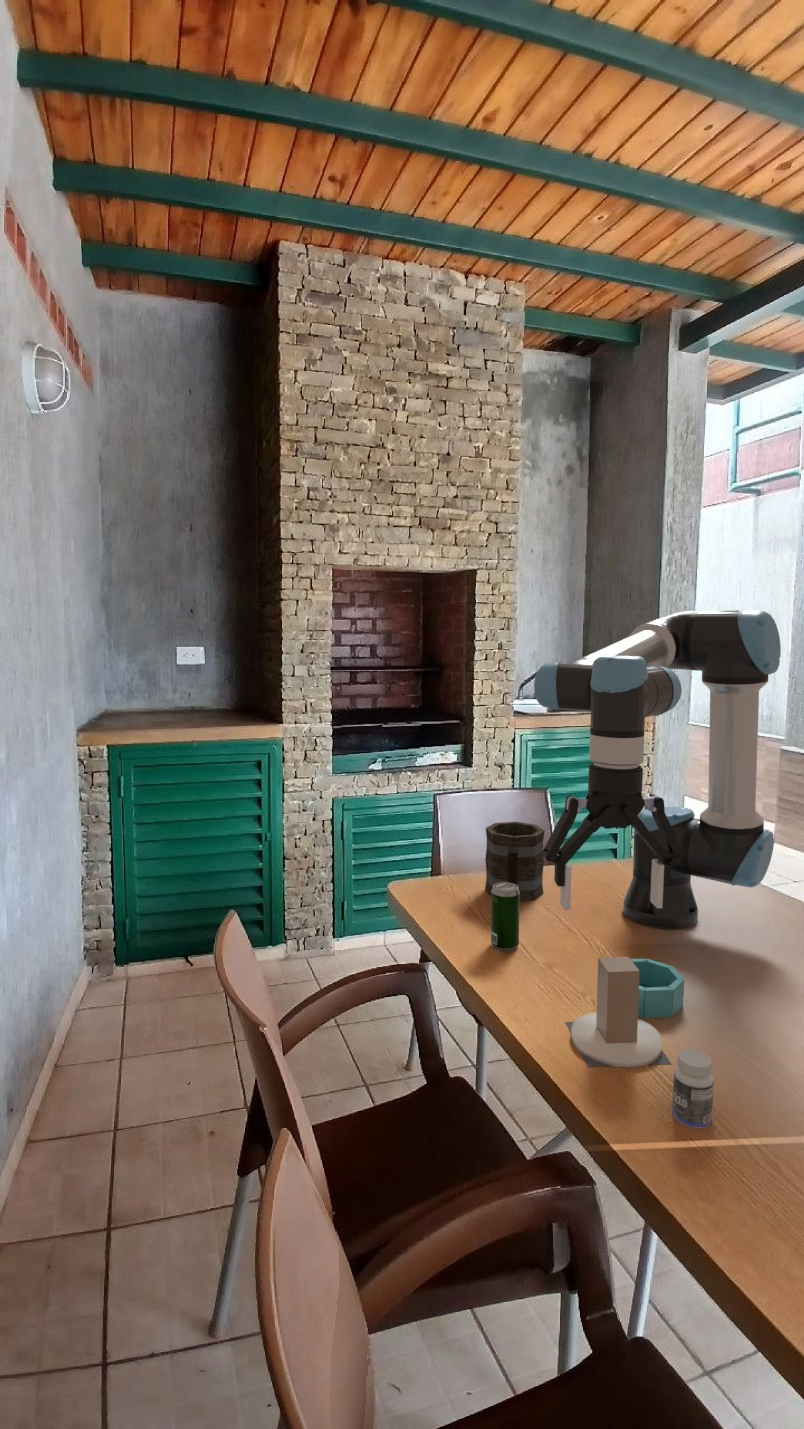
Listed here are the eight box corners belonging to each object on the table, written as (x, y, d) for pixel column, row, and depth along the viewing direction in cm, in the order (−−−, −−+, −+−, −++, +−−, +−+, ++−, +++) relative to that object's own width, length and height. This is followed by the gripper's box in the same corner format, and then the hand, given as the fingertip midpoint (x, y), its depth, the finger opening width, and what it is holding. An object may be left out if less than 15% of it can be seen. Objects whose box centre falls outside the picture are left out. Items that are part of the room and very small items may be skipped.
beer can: (503, 954, 143) (504, 893, 141) (485, 944, 147) (485, 885, 146) (524, 947, 146) (525, 888, 144) (506, 938, 150) (506, 880, 149)
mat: (640, 1022, 119) (640, 1019, 119) (671, 1067, 107) (671, 1063, 107) (565, 1024, 118) (565, 1021, 118) (588, 1070, 106) (588, 1067, 106)
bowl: (664, 985, 131) (665, 958, 130) (691, 1018, 120) (693, 989, 119) (601, 987, 130) (602, 959, 129) (623, 1021, 119) (624, 991, 119)
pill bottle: (665, 1108, 98) (668, 1047, 97) (700, 1106, 98) (703, 1045, 97) (682, 1132, 93) (685, 1069, 92) (718, 1130, 94) (722, 1067, 93)
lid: (642, 1017, 119) (645, 944, 118) (676, 1065, 106) (680, 984, 105) (561, 1020, 119) (563, 946, 117) (585, 1069, 106) (588, 986, 104)
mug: (486, 880, 184) (487, 820, 182) (543, 883, 181) (544, 822, 179) (480, 910, 164) (481, 844, 163) (543, 915, 162) (544, 847, 160)
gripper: (689, 758, 113) (682, 895, 115) (524, 759, 111) (521, 898, 114) (712, 767, 105) (705, 913, 108) (536, 769, 104) (532, 917, 107)
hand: (610, 906), depth 111 cm, fingers open, 13 cm apart
